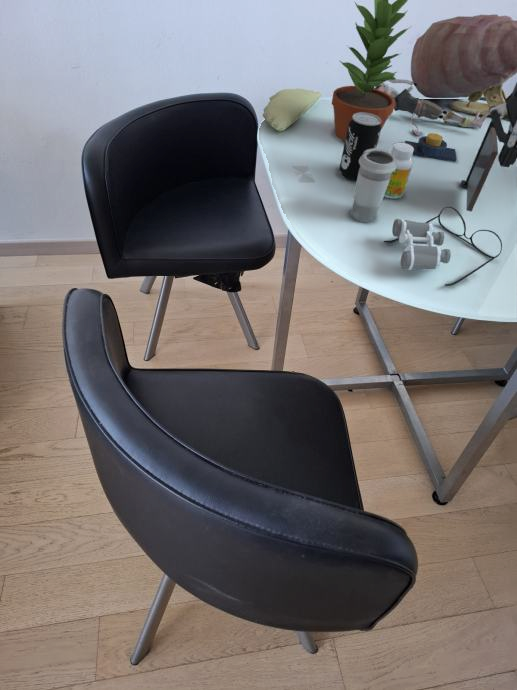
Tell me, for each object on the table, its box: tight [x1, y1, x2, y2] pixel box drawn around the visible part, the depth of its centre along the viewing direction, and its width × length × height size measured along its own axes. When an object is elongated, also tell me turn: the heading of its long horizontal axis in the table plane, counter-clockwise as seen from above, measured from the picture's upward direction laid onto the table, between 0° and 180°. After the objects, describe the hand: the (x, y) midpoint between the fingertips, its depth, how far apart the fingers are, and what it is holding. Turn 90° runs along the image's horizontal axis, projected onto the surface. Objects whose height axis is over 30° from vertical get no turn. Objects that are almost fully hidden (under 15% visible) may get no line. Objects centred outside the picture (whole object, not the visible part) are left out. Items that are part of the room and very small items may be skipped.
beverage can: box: [339, 112, 382, 182], centre depth 101 cm, size 7×7×12 cm
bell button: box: [425, 132, 444, 146], centre depth 114 cm, size 4×4×2 cm
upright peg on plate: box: [460, 119, 494, 190], centre depth 101 cm, size 2×2×14 cm
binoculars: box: [391, 218, 452, 271], centre depth 83 cm, size 12×8×4 cm, turn 179°
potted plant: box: [331, 0, 413, 142], centre depth 108 cm, size 15×15×30 cm
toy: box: [374, 78, 491, 136], centre depth 126 cm, size 9×16×30 cm
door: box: [466, 127, 499, 212], centre depth 96 cm, size 1×12×12 cm, turn 162°
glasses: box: [383, 206, 503, 287], centre depth 87 cm, size 14×15×5 cm
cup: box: [350, 148, 396, 223], centre depth 90 cm, size 7×7×12 cm
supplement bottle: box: [383, 142, 414, 200], centre depth 98 cm, size 5×5×10 cm
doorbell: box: [404, 135, 458, 163], centre depth 116 cm, size 12×6×2 cm, turn 78°
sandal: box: [449, 83, 508, 116], centre depth 134 cm, size 13×23×8 cm, turn 52°
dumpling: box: [262, 88, 323, 132], centre depth 123 cm, size 26×4×10 cm
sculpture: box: [410, 14, 517, 99], centre depth 132 cm, size 19×28×30 cm
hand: (504, 165), depth 90 cm, fingers closed
